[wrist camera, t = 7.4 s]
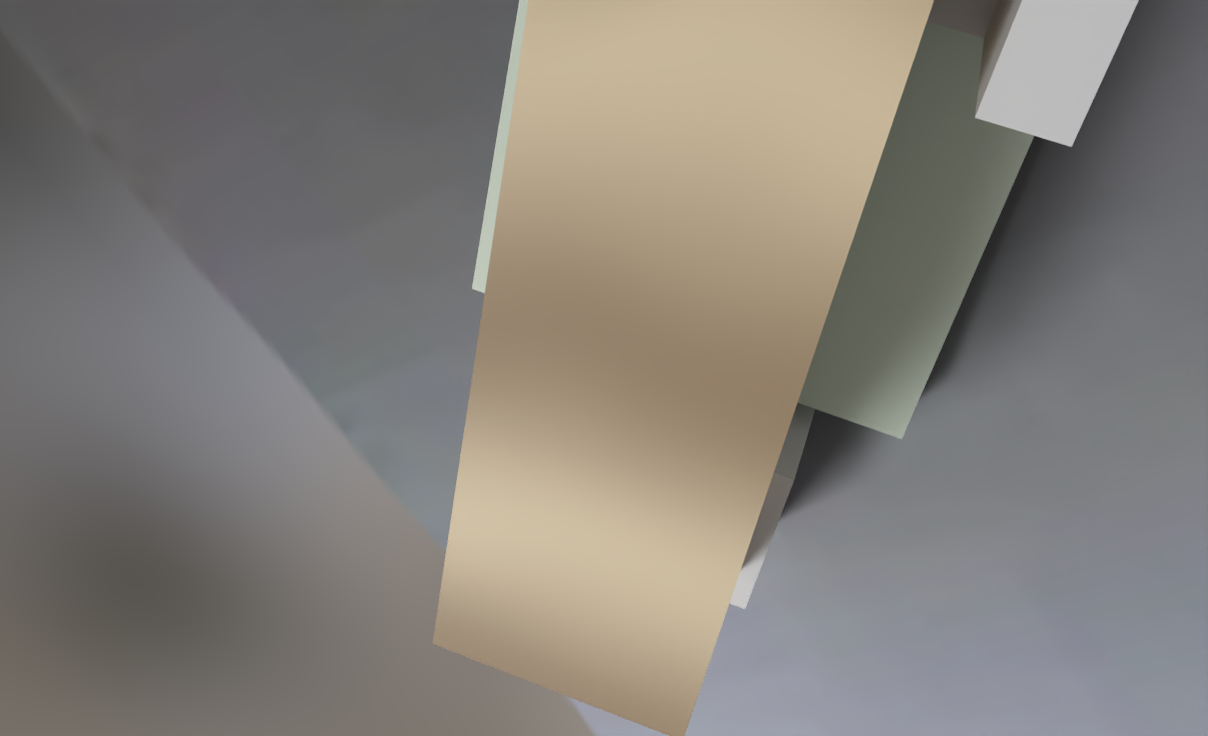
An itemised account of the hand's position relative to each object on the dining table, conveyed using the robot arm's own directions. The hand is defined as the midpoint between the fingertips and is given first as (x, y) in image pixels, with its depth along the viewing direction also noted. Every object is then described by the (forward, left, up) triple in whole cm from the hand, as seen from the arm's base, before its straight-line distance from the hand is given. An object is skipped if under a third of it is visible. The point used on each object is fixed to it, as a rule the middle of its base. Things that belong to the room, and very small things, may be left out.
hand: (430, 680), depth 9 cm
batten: (0, 0, -9) cm, 9 cm away
